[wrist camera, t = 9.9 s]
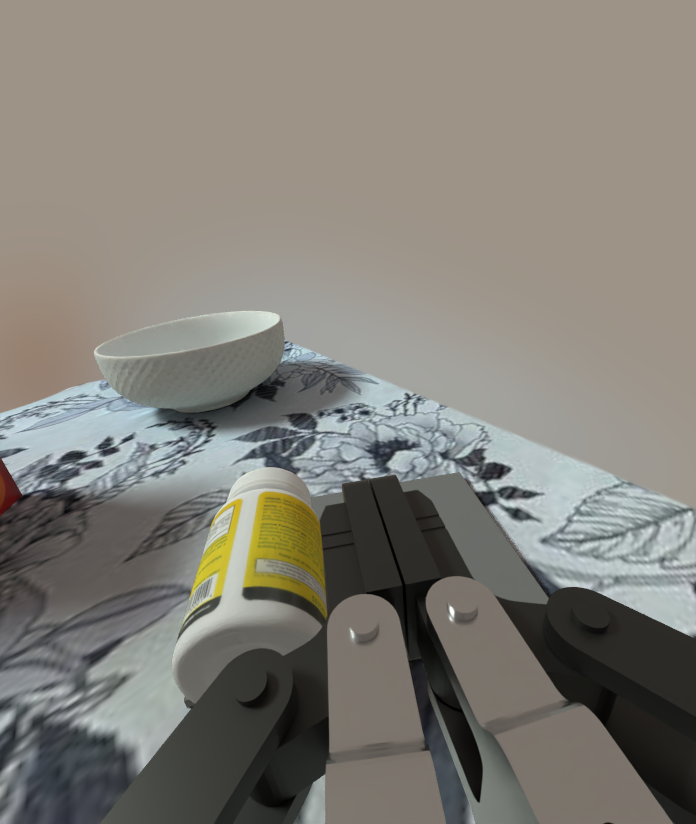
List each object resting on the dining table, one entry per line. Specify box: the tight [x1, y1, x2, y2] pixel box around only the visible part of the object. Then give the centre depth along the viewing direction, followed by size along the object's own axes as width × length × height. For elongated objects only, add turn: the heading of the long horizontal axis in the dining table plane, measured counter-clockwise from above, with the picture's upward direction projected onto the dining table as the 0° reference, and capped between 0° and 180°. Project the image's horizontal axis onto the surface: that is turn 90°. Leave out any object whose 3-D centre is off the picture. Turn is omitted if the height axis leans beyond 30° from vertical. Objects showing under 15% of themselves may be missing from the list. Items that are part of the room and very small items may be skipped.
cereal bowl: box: [94, 311, 285, 413], centre depth 39 cm, size 17×17×7 cm
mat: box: [184, 472, 549, 707], centre depth 19 cm, size 10×14×1 cm
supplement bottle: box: [172, 467, 327, 704], centre depth 15 cm, size 5×5×8 cm
